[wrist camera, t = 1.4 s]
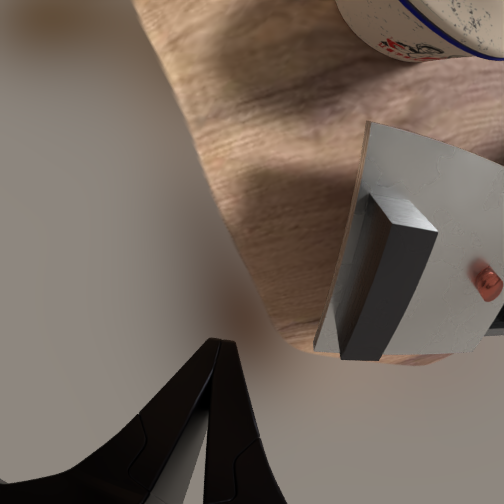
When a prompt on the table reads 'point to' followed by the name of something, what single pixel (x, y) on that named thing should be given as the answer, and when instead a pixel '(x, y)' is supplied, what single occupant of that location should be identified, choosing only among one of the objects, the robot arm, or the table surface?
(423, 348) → the box lid
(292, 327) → the table surface
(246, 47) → the table surface
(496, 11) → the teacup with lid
